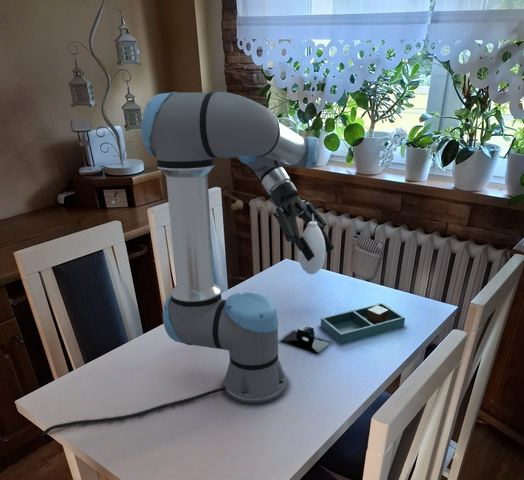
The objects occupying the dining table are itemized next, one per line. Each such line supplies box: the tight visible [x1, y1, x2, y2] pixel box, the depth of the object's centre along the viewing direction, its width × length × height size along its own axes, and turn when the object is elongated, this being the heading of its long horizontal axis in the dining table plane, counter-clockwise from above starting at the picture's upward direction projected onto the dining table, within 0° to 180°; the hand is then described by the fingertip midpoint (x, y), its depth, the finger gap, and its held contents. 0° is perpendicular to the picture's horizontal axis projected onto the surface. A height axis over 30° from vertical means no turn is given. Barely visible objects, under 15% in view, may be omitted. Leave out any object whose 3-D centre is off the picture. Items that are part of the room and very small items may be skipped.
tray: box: [320, 302, 406, 345], centre depth 143 cm, size 22×11×3 cm, turn 114°
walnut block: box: [367, 305, 389, 325], centre depth 145 cm, size 4×4×4 cm
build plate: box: [280, 324, 331, 355], centre depth 137 cm, size 12×7×5 cm, turn 54°
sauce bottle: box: [298, 214, 327, 275], centre depth 141 cm, size 8×8×18 cm
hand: (321, 254), depth 140 cm, fingers closed on sauce bottle, 8 cm apart
